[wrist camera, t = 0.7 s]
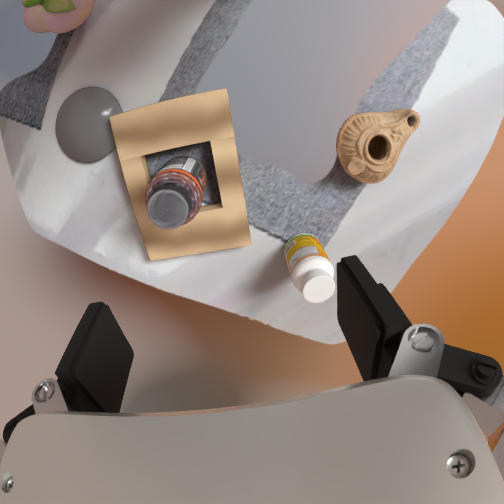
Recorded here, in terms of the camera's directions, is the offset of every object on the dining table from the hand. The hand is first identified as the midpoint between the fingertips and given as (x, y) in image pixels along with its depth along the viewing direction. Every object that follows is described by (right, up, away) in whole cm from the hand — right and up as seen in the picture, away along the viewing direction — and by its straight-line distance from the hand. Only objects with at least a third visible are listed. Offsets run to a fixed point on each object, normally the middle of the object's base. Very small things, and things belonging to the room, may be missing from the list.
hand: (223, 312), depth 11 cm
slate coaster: (-20, +19, +20) cm, 33 cm away
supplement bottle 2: (+8, +3, +31) cm, 33 cm away
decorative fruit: (-21, +33, +11) cm, 41 cm away
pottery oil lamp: (+17, +17, +24) cm, 34 cm away
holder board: (-7, +12, +25) cm, 28 cm away
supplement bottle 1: (-7, +12, +25) cm, 29 cm away
